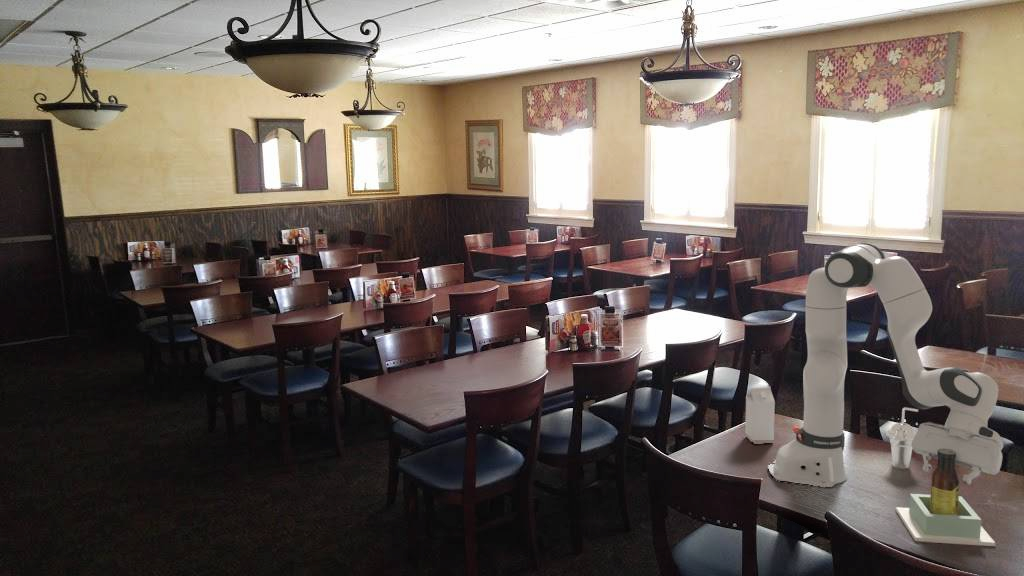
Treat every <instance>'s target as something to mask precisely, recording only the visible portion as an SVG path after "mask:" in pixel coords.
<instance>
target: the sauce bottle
mask: <svg viewBox="0 0 1024 576" xmlns="http://www.w3.org/2000/svg"><path fill="white" fill-rule="evenodd" d="M937 455H938V459H937V464H936V465H937V467H936V468H935V469H934V471H933V472H932V475H931V483H930V494H929V495H930V514H940V515H957V516H958V500H959V496H960V494H959V492H960V480H959V477H958V474H957V471H956V467H955V465H956V464H955V458H956V452H955V451H953V450H950V449H938V452H937Z"/></svg>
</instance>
